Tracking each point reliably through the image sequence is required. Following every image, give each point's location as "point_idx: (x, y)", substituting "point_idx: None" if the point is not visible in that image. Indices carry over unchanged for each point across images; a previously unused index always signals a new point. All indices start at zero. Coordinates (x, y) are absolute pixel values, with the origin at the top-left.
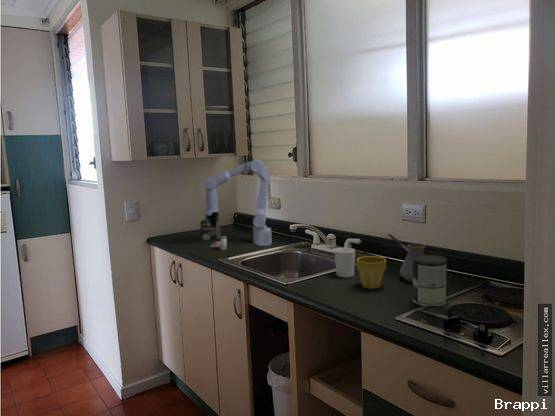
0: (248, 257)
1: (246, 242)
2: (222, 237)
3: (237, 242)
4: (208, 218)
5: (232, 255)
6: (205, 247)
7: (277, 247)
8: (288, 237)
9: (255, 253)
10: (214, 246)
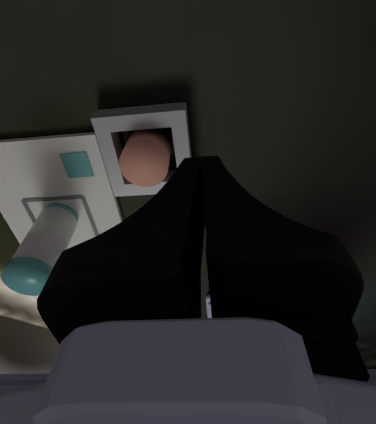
0: (12, 315)
1: None
2: (3, 280)
3: (300, 219)
4: (116, 227)
5: None
6: (128, 43)
7: None
8: (370, 365)
9: None
10: (101, 145)
